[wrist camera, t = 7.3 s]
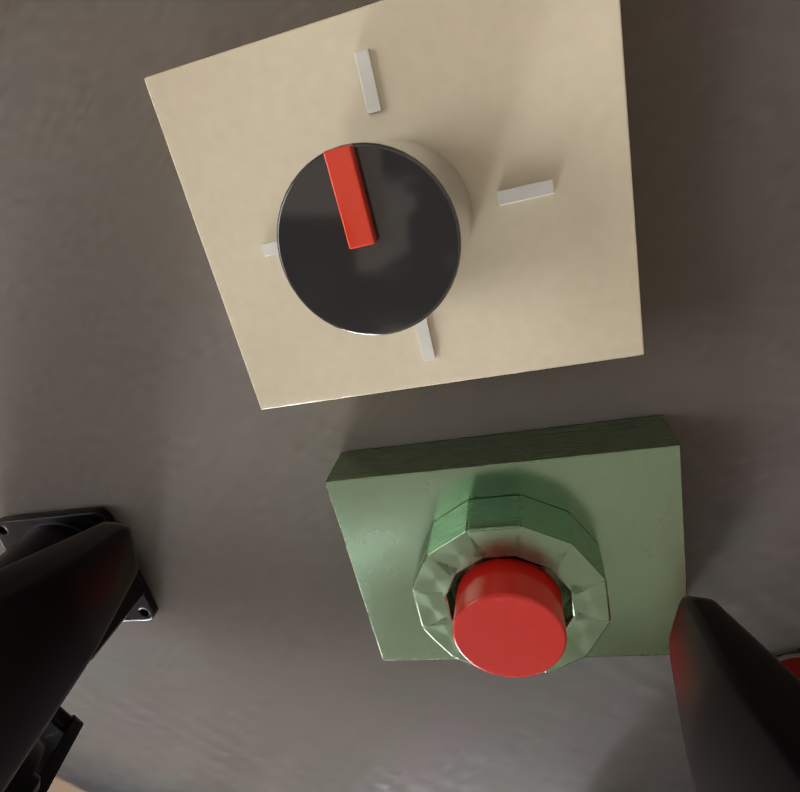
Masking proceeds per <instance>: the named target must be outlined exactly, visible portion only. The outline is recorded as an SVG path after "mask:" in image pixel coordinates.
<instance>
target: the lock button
mask: <svg viewBox="0 0 800 792" xmlns="http://www.w3.org/2000/svg"><path fill="white" fill-rule="evenodd" d="M452 633H453V638H454V641H455V644H456V646H457V648H458V650H459V651H460V652H461V654H462V655H463V656H464V657H465V658H466V659H467V660H468V661H469V662H470V663H472V664H473V665H475V666H476V667H478V668H480V669H482V670H484V671H486V672H489V673H492V674H495V675H499V676H505V677H527V676H532V675H536V674H539V673H542V672H544V671H546V670H548V669H549V668H551V667H552V666H554V665H555V664H556V663H557V662H558V661H559V659H560V658H561V657H562V655H563V653H564V651H565V648H566V644H567V633H566V624H565V615H564V606H563V597H562V593H561V591H560V588H559V586H558V585H557V583H556V582H555V580H554V579H553V578H552V577H551V576H550V575H549V574H548V573H547V572H546V571H544V570H543V569H542V568H540V567H538V566H536V565H534V564H532V563H530V562H527V561H524V560H519V559H514V558H497V559H491V560H487V561H484V562H481V563H479V564H477V565H475V566H474V567H472V568H471V569H470V570H468V571H467V572H466V573H465V575H464V576H463V577H462V578H461V580H460V582H459V584H458V587H457V592H456V601H455V609H454V618H453V626H452Z"/></svg>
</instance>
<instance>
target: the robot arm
mask: <svg viewBox="0 0 800 792" xmlns="http://www.w3.org/2000/svg"><path fill="white" fill-rule="evenodd" d="M0 542H1V543H2V545H3V546H4V548H5V550H6V551H5V552H4V553H3V554H2V555H0V792H47V790H48V789H49V787H50V785H51V783H52V781H53V779H54V777H55V776H56V774H57V772H58V770H59V768H60V766H61V765H62V763H63V761H64V759H65V757H66V755H67V754H68V752H69V750H70V748H71V746H72V744H73V742H74V741H75V739H76V737H77V735H78V733H79V731H80V730H81V728H82V726H83V722H82V721H81V720H80V719H78V718H77V717H76V716H75V715H72V716H71V715H70V714H69V713H68V712H66V711H65V710H64V709H63V708H62V707H61V704H62V702H63V701H64V699H65V698H66V696H67V695H68V693H69V692H70V690H71V689H72V687H73V686H74V684H75V683H76V681H77V680H78V678H79V677H80V675H81V674H82V672H83V671H84V669H85V667H86V666H87V664H88V663H89V661H91V660H92V659H93V658H94V657H95V655H96V654H97V653H98V652H99V650H100V649H101V648H102V647H103V645H104V644H105V643H106V642H107V640H108V639H109V638H110V637H111V635H112V634H113V633H114V632H115V630H116V629H117V628H118V626H119V625H120V624H121V623H122V621H144V620H151V619H152V618H153V617H154V616H155V615H156V613H157V612H158V606H157V604H156V602H155V600H154V598H153V596H152V594H151V592H150V590H149V588H148V586H147V585H146V583H145V581H144V579H143V577H142V575H141V573H140V571H139V569H138V563H139V562H138V556H137V552H136V548H135V544H134V540H133V535H132V531H131V529H130V528H129V526H128V525H125V524H121V523H115V521H114V519H113V517H112V515H111V514H110V513H109V512H108V511H107V510H106V509H104V508H101V507H95V508H86V509H76V510H67V511H57V512H47V513H38V514H28V515H18V516H9V517H3V518H1V519H0ZM669 652H670V659H671V665H672V671H673V677H674V683H675V689H676V695H677V701H678V708H679V714H680V720H681V726H682V732H683V738H684V744H685V749H686V754H687V759H688V763H689V767H690V771H691V775H692V779H693V782H694V786H695V790H696V792H800V680H799V679H798V678H797V677H796V676H795V675H794V674H793V673H792V672H790V671H789V670H788V669H787V668H786V667H785V666H784V665H783V664H782V663H781V662H780V661H779V660H778V659H777V658H775V657H774V656H773V655H772V654H771V653H770V652H769V651H768V650H767V649H766V648H765V647H764V646H763V645H762V644H760V643H759V642H758V641H757V640H756V639H755V638H754V637H753V636H752V635H751V634H750V633H749V632H748V631H747V630H745V629H744V628H743V627H742V626H741V625H740V624H739V623H738V622H737V621H736V620H735V619H734V618H733V617H732V616H730V615H729V614H728V613H727V612H726V611H725V610H724V609H723V608H722V607H721V606H720V605H719V604H718V603H716V602H715V601H713V600H711V599H708V598H700V597H692V596H685V597H683V598H682V599H681V600H680V602H679V605H678V609H677V612H676V615H675V619H674V622H673V626H672V629H671V633H670V637H669Z"/></svg>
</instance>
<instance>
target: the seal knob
mask: <svg viewBox="0 0 800 792" xmlns="http://www.w3.org/2000/svg"><path fill="white" fill-rule="evenodd" d="M472 224H473V212H472V204H471V200H470V196H469V192H468V190H467V187H466V185H465V183H464V181H463V179H462V177H461V175H460V174H459V172H458V171H457V170H456V168H455V167H454V166H453V165H452V164H451V163H450V162H449V161H448V160H447V159H446V158H445V157H444V156H443V155H441V154H440V153H439V152H437V151H436V150H434V149H432V148H430V147H428V146H426V145H423V144H421V143H417V142H413V141H408V140H387V141H372V142H357V143H349V144H345V145H340V146H337V147H335V148H332V149H329V150H327V151H324V152H323V153H322V154H320V155H318V156H316V157H315V158H314V159H312V160H311V161H310V162H308V163H307V164H306V165H305V166H304V167H303V168H302V169H301V170H300V171H299V172H298V174H297V175H296V176H295V178H294V179H293V180H292V182H291V184H290V185H289V187H288V189H287V191H286V193H285V195H284V198H283V200H282V203H281V206H280V210H279V215H278V221H277V246H278V253H279V258H280V261H281V265H282V268H283V271H284V273H285V276H286V278H287V280H288V282H289V284H290V285H291V287H292V289H293V290H294V292H295V293H296V295H297V296H298V298H299V299H300V300H301V301H302V302H303V303H304V304H305V306H306V307H307V308H309V309H310V310H311V311H312V312H313V313H314V314H315V315H317V316H318V317H319V318H321V319H322V320H324V321H325V322H327V323H329V324H331V325H332V326H334V327H337V328H339V329H342V330H344V331H347V332H351V333H355V334H361V335H371V336H379V335H388V334H393V333H397V332H401V331H403V330H406V329H408V328H411V327H413V326H414V325H416V324H418V323H420V322H421V321H423V320H424V319H425V318H427V317H428V316H429V315H431V314H432V313H433V312H434V311H435V310H436V309H437V308H438V307H439V305H440V304H441V303H442V301H443V300H444V299H445V298H446V296H447V294H448V293H449V291H450V289H451V287H452V285H453V283H454V280H455V278H456V275H457V273H458V270H459V267H460V265H461V262H462V260H463V257H464V254H465V252H466V249H467V246H468V244H469V240H470V236H471V232H472Z"/></svg>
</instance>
